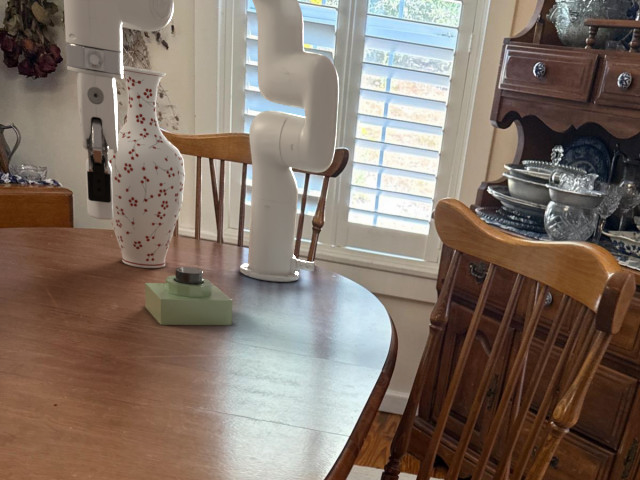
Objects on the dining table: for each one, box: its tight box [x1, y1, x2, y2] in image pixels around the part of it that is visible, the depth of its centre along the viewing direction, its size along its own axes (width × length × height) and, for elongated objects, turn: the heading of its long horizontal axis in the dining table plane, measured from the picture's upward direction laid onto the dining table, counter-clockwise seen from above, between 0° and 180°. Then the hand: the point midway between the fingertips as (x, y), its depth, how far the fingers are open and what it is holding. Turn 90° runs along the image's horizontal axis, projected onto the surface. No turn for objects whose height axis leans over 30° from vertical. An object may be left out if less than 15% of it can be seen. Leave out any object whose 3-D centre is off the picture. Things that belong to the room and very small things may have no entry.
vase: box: [108, 65, 186, 269], centre depth 151 cm, size 16×16×35 cm
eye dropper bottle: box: [85, 140, 113, 221], centre depth 118 cm, size 4×6×12 cm
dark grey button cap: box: [174, 266, 204, 285], centre depth 129 cm, size 4×4×2 cm
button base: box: [144, 274, 234, 326], centre depth 131 cm, size 12×10×6 cm
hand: (99, 196), depth 119 cm, fingers closed on eye dropper bottle, 5 cm apart
